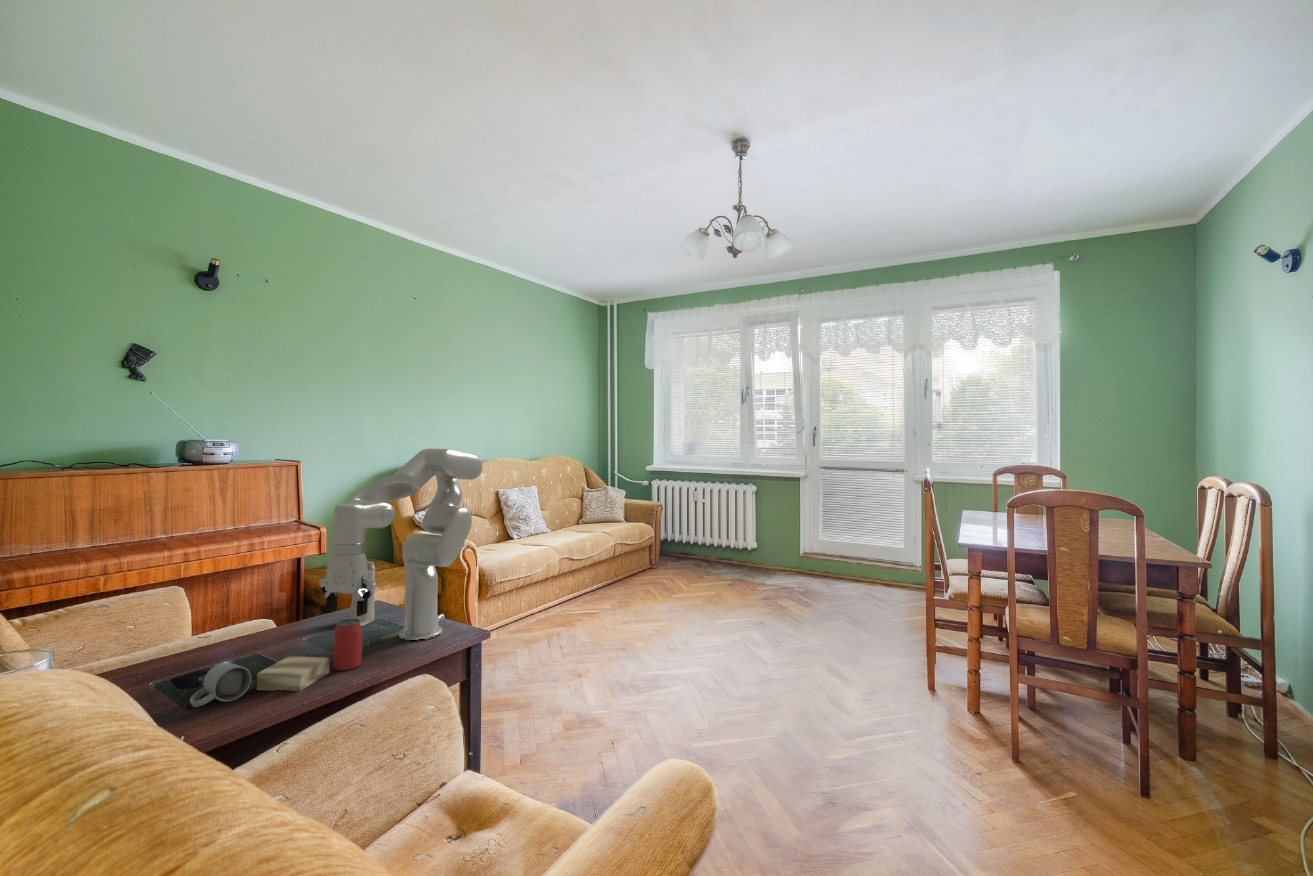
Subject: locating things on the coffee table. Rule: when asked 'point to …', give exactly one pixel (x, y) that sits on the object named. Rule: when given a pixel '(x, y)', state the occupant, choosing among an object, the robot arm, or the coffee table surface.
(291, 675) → the birch block
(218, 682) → the ceramic mug
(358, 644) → the beer can
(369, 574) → the beige boot
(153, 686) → the coffee table surface
